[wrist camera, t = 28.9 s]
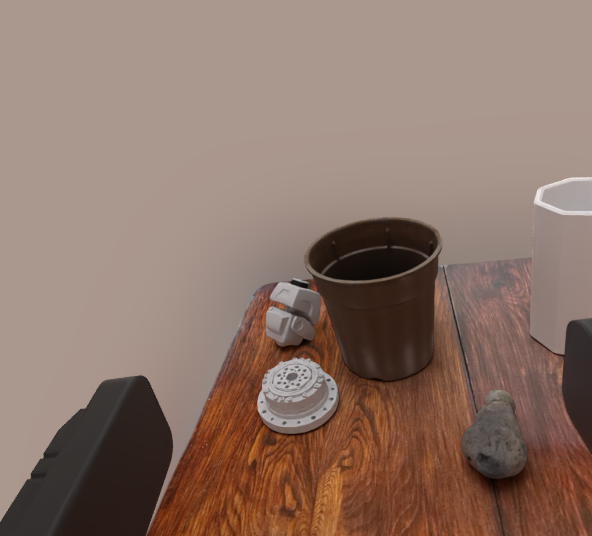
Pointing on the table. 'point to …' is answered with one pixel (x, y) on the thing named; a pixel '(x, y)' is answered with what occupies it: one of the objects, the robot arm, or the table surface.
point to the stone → (495, 438)
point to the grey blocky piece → (293, 313)
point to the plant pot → (379, 293)
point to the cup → (561, 260)
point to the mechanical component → (297, 397)
